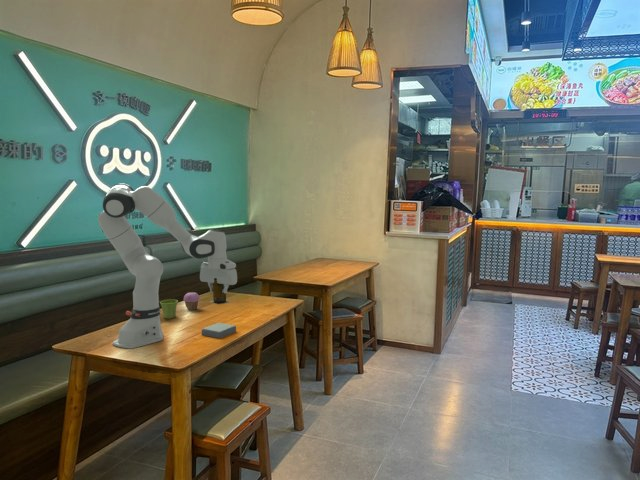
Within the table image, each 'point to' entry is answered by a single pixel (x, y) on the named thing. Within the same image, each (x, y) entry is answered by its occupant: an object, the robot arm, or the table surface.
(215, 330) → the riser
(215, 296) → the condiment
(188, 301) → the cupcake
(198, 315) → the table surface
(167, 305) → the plant pot
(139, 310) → the robot arm
